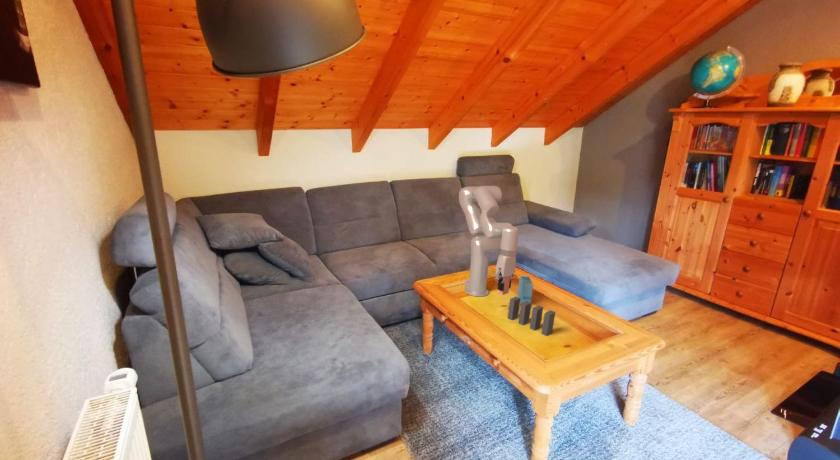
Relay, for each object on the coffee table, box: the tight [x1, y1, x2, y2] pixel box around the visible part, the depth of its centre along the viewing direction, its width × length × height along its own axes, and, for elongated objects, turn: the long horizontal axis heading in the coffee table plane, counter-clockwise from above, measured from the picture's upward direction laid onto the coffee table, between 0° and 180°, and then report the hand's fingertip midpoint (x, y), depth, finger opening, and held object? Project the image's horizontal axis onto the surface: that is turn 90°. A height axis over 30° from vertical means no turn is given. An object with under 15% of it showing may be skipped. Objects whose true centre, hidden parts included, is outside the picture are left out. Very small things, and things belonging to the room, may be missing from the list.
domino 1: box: [498, 275, 510, 296], centre depth 191 cm, size 2×5×10 cm, turn 133°
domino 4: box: [529, 305, 544, 331], centre depth 181 cm, size 2×5×10 cm, turn 133°
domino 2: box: [507, 296, 521, 321], centre depth 189 cm, size 2×5×10 cm, turn 133°
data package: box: [517, 275, 534, 304], centre depth 210 cm, size 12×4×12 cm, turn 177°
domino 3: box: [517, 301, 532, 326], centre depth 185 cm, size 2×5×10 cm, turn 133°
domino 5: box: [541, 309, 556, 337], centre depth 177 cm, size 2×5×10 cm, turn 133°
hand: (503, 288), depth 192 cm, fingers closed on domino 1, 4 cm apart
